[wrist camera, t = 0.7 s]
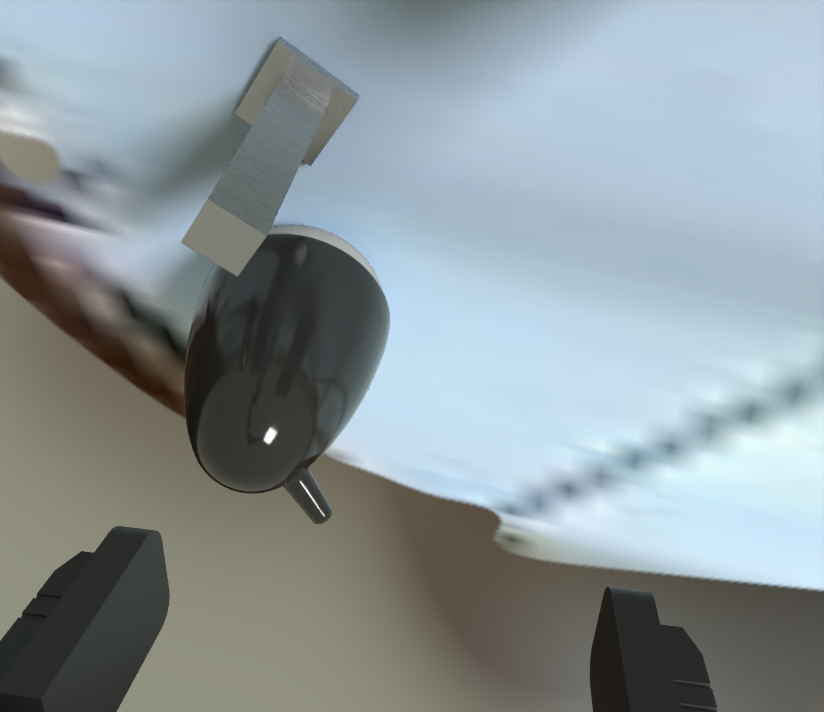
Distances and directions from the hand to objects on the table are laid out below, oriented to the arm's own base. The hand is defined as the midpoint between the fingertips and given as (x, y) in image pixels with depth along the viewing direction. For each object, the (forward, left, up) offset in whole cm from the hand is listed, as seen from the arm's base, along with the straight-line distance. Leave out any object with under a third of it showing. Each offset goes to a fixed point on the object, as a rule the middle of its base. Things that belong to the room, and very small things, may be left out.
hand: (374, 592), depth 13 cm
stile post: (-5, -7, -27) cm, 29 cm away
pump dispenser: (+1, -16, -27) cm, 32 cm away
